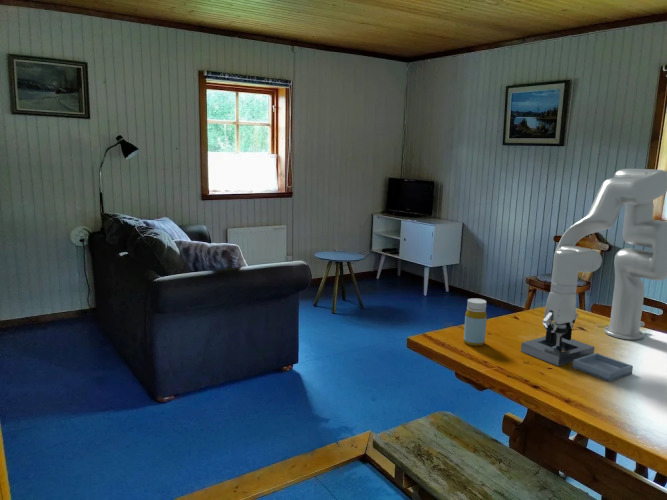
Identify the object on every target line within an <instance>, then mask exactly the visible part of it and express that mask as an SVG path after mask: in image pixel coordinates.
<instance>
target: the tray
mask: <svg viewBox="0 0 667 500" xmlns="http://www.w3.org/2000/svg"><path fill="white" fill-rule="evenodd" d="M572 368H573V369H574V370H578V371H581V372H582V373H585V374H588V375H591V376H593V377H595V378H597V379H600V380H604V381H605V382H608V383H611V382H613V381H616V380H618V379H622V378H625V377H627V376H629V375H632V374H633V370H634V366H633V365H632V364H630V363H629V364H628V363H626V362H623V361H620V360H619V359H615V358H612V357H609V356H606V355H603V354H601V353H598V352H594V354H591V355H588V356H584V357H581V358H578V359H574V360H573V362H572Z"/></svg>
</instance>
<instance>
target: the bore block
mask: <svg viewBox="0 0 667 500" xmlns="http://www.w3.org/2000/svg"><path fill="white" fill-rule="evenodd" d="M545 340H546V336H542V337H539V338H538V337H537V338H534V339H531V340H527V341H526V340H525V341H522V342H521V347H520V352H522V353H524V354H526V355H529V356H531V357H533V358H537V359H539V360H542V361H544V362H546V363H549V364H552V365H554V366H556V367H560V366H564V365H567V364H570V363H573V360H574V359H578V358H581V357H584V356H588V355H591V354H594V353H595V346H594V345H591V344H588V343H584V342H582V341H579V340H576V339H574V338H571V340H567V339H564V338H562V342H563V346H562V348H563V350H562V351H560V350H557V349H554V348H553V344H550V343H547V342H546V341H545Z"/></svg>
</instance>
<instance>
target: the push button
mask: <svg viewBox="0 0 667 500" xmlns="http://www.w3.org/2000/svg"><path fill="white" fill-rule="evenodd" d="M551 326H552V328H553V326H554V325H553V324H551ZM568 329H569V327H568V326H566V324H565V323H564V324H559V325H558V326H557V328H556V330H555V332H556V340H555V344H554V345H553V347H552V348H554V349H557V350H560V351H562V352H563V348H562V346H563V342H562V334H565V333H567V332H568Z"/></svg>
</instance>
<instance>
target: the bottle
mask: <svg viewBox="0 0 667 500" xmlns="http://www.w3.org/2000/svg"><path fill="white" fill-rule="evenodd" d="M486 310H487V300H486V299H483V298H477V297H476V298H474V297H473V298H468V299H467V305H466V311H465V314H464V329H463V342H464V343H465V344H466V345H468V346H470V347H471V346H472V347H481V346H483V345H484V344H486V343H485V342H486V331H487V320H488V319H487V318H488V317H487V316H488V315H487V311H486Z"/></svg>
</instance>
